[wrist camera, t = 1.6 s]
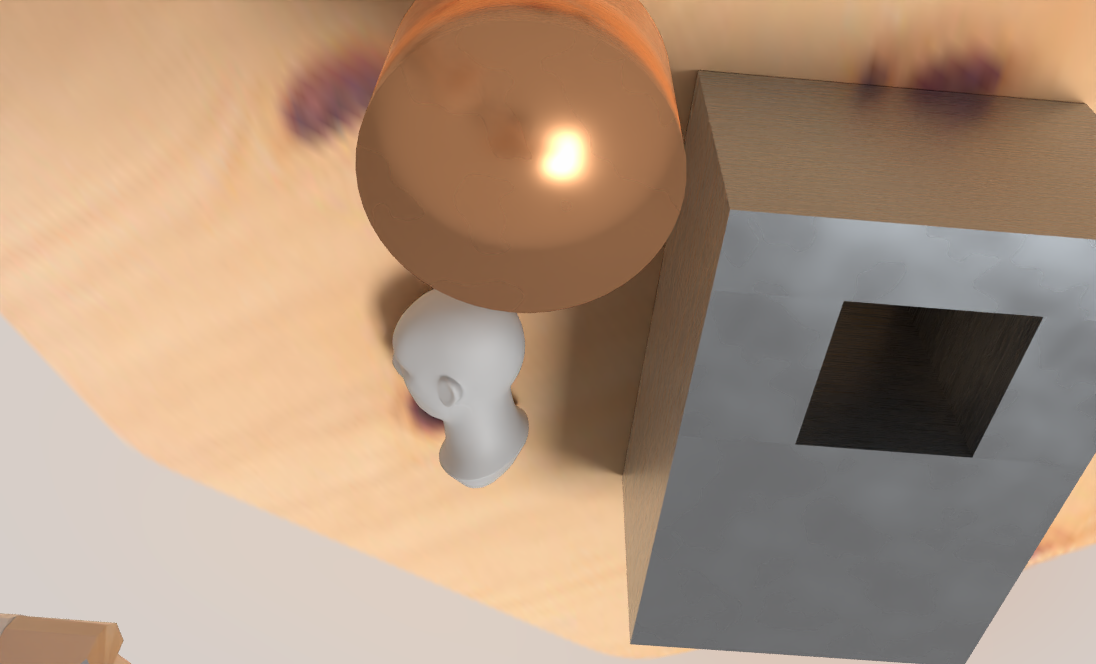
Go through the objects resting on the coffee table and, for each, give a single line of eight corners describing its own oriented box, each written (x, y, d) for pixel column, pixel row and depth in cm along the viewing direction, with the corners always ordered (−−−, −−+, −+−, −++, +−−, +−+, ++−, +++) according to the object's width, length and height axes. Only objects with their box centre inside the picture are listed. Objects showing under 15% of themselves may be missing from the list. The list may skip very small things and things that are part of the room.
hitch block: (622, 476, 41) (630, 644, 34) (698, 70, 29) (730, 209, 23) (904, 497, 41) (963, 666, 35) (1086, 104, 30) (1220, 249, 24)
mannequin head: (410, 245, 35) (542, 270, 34) (429, 409, 40) (545, 437, 39) (353, 312, 32) (497, 342, 31) (381, 482, 37) (507, 514, 36)
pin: (423, 87, 30) (362, 300, 21) (423, -145, 26) (347, 4, 17) (636, 105, 30) (659, 323, 22) (669, -122, 26) (715, 37, 17)
